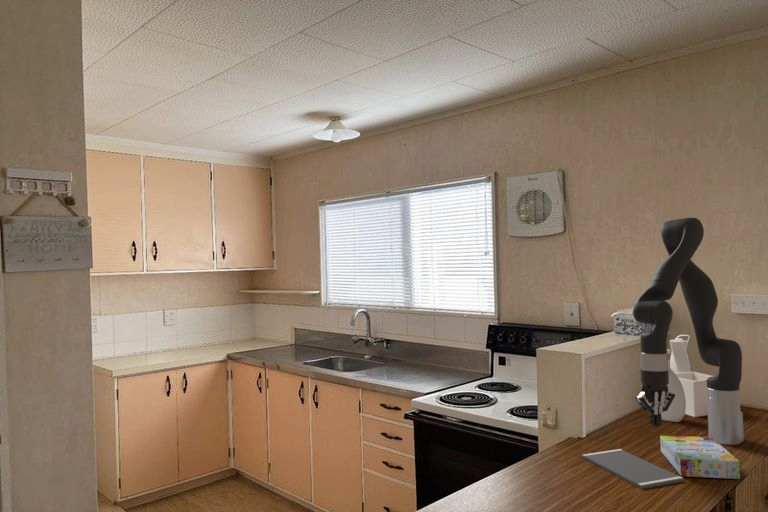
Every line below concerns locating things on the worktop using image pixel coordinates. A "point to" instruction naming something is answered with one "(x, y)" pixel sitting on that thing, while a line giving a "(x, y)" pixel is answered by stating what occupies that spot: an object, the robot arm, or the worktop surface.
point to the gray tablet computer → (632, 468)
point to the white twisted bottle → (679, 355)
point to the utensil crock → (695, 392)
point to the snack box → (699, 457)
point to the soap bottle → (675, 398)
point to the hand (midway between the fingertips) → (656, 426)
